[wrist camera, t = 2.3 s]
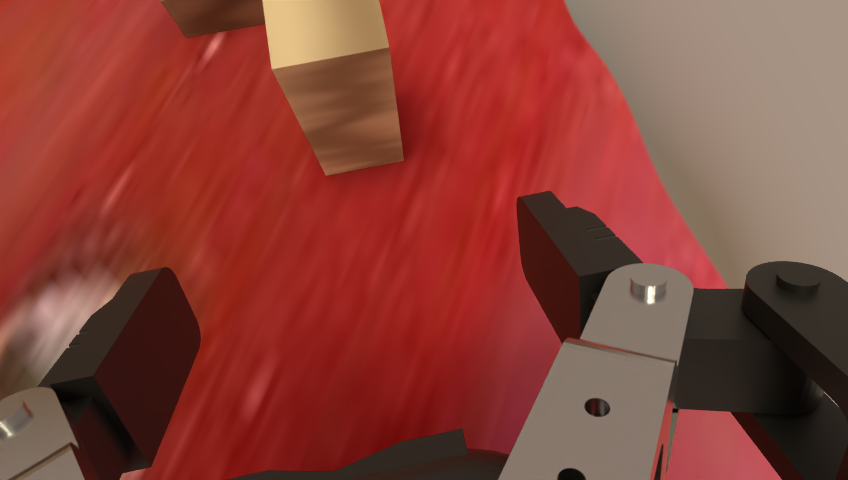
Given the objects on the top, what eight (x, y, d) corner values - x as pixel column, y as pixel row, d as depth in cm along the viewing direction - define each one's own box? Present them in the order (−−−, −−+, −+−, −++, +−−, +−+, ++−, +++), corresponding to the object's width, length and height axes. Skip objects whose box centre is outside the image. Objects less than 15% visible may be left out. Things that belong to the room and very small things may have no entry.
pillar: (325, 175, 29) (271, 69, 19) (314, 106, 30) (258, -26, 21) (404, 160, 29) (389, 47, 19) (389, 92, 30) (369, -46, 21)
